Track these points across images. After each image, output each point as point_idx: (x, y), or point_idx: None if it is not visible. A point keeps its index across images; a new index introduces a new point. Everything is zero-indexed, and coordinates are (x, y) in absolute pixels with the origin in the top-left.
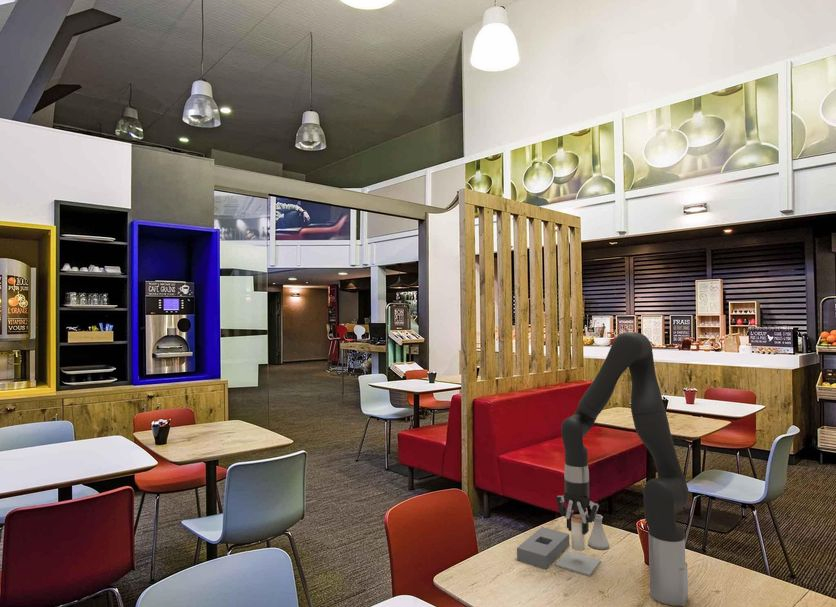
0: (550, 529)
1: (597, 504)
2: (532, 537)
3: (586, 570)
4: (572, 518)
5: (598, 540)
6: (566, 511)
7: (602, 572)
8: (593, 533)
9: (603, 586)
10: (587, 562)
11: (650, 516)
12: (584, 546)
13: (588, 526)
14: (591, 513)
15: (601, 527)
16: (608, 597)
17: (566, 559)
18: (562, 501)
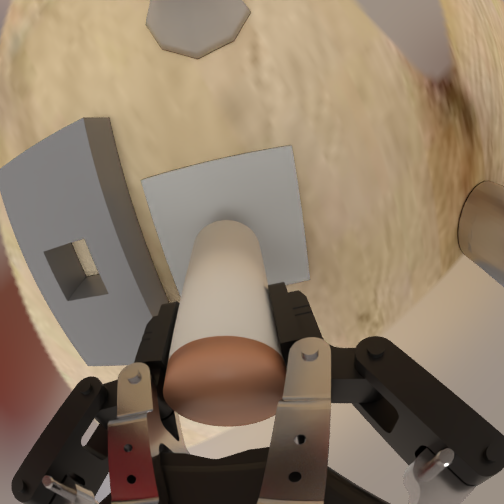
0: (18, 160)
1: (490, 473)
2: (41, 280)
3: (289, 265)
4: (214, 424)
5: (211, 27)
6: (108, 409)
7: (330, 220)
8: (174, 17)
9: (362, 293)
10: (259, 207)
11: None
12: (260, 250)
13: (314, 319)
14: (401, 445)
15: None
16: (383, 323)
17: (185, 248)
18: (88, 501)
